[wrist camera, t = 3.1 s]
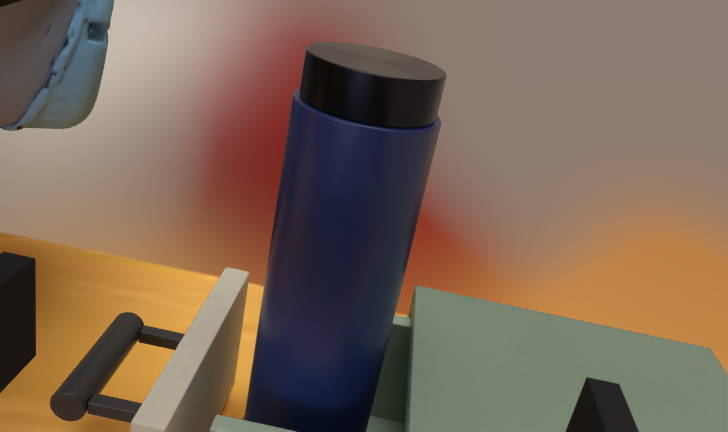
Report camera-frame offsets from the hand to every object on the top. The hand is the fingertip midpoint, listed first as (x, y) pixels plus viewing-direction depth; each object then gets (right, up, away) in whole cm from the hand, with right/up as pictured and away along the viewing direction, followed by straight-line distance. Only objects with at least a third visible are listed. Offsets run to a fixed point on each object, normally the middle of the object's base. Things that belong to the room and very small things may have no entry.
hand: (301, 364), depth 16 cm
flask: (-1, -7, +14) cm, 16 cm away
